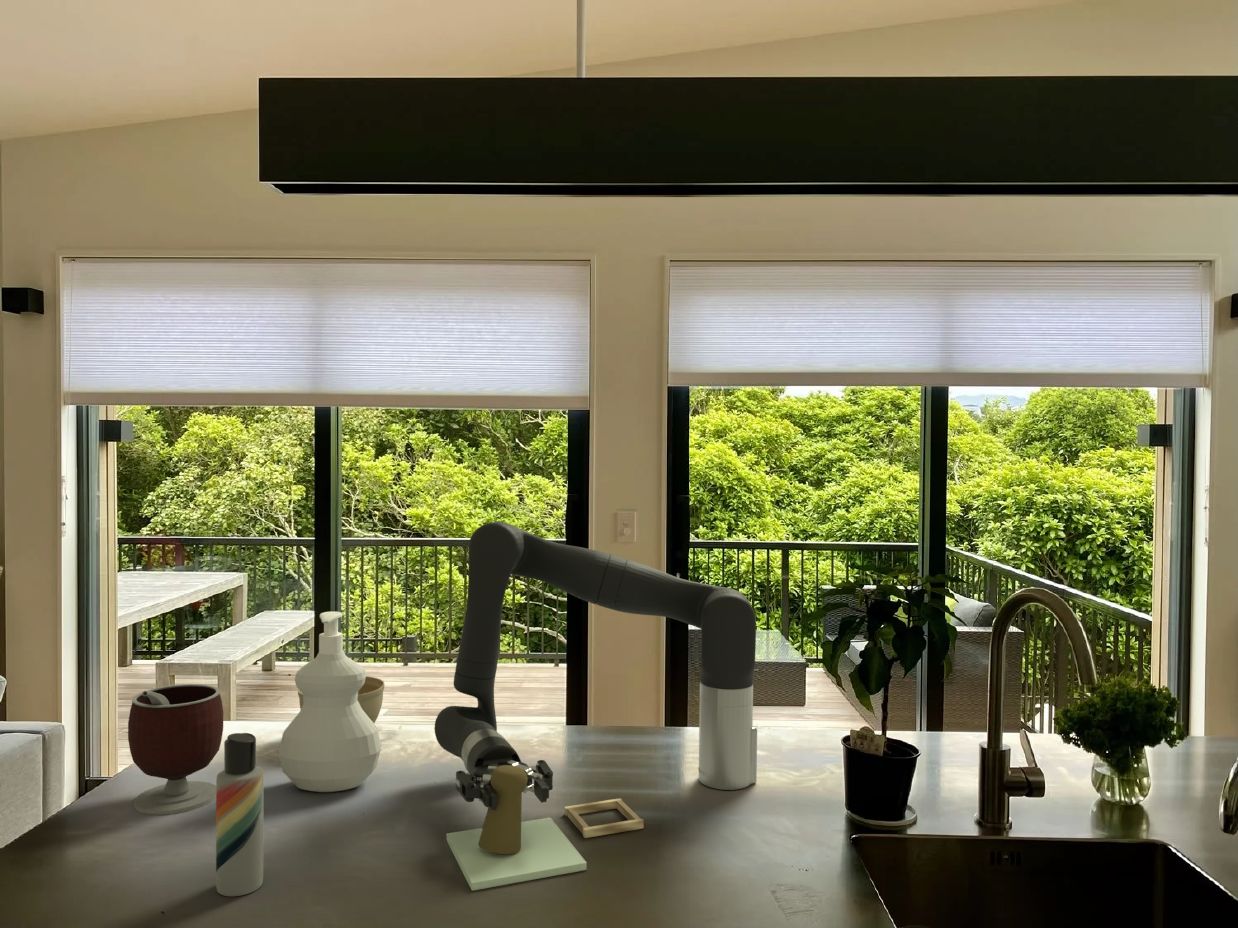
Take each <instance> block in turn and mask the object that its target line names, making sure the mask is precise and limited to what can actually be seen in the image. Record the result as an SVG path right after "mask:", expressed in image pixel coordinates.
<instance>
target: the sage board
mask: <svg viewBox="0 0 1238 928" xmlns="http://www.w3.org/2000/svg"><path fill="white" fill-rule="evenodd" d="M482 829H483V827H480V828H473V829H467V830H462V831H454V832H449V833H448V832H447V833H446V842H447V844H448V847H449V848H450V850H451V853H452V854H453V856H454V858H455V860H456V862H457V864H458V866H459V869H460V870H461V872H462V874H463V875H464V878H465V880H466V882H467V884H468V886H469V888H470V890H471V891H477V890H482V889H484V890H485V889H489V888H490V889H491V888H493V887H494V888H495V887H500V886H506V885H510V884H516V883H522V882H528V881H532V880H537V879H539V880H540V879H543V878H548V877H554V876H561V875H565V874H571V873H577V872H583V871H587V870H588V869H587V868H588V867H587V864H588V862H587V861H586V860H585V858H584V857H583V856H582V855H581V853H579V851H578V849H576V847H574V845H573V844H572V842H570V840H569V838H568V837H567V836H566V835H565V834H564V833H563V831H562V830H561V829H560V828H559V826H558V825H557V824H556V822H555V821H554V820H553V819H552V818H551V817H544V818H537V819H532V820H524V821H521V849H520V851H518V852H516V853H512V854H497V853H492V852H488V851H485V850H483V849H482V848H480V847H479V845H478V843H479V839H480V836H481V832H482Z"/></svg>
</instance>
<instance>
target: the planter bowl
mask: <svg viewBox="0 0 1238 928" xmlns="http://www.w3.org/2000/svg"><path fill="white" fill-rule="evenodd" d="M384 690H385V682H384V680H383V679H381V678H378V677H375V676H369V675H366V679H365V683H364V685H363V686H362V687H361V689H360V690H359V691H358V698H357V700H358V702H359V704H360V706H361V708H362V710H363V711H364V712H365V713H366V714H367V716H368V717H369V718H370V719H371V721H372V722H373V723H374V724H375V723H376V721H377V719H378V717H379V715H380V712H381V709H382V706H383V700H384ZM297 695H298V699H299V709H300V710H301V708H302V706H303V704H304V702H303V694H302V693H301V691H300V690H299V689H298V688H297Z"/></svg>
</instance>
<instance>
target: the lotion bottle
mask: <svg viewBox="0 0 1238 928" xmlns="http://www.w3.org/2000/svg"><path fill="white" fill-rule="evenodd" d="M256 737H257V736H255V735H254V734H252V733H248V732H238V733H236V732H235V733H231V734H228V736H227V738H226V739H225V740H224V742H223V743H224V745H223V746H224V747H223V748H224V751H223V753H224V754H223V755H224V756H223V757H224V762H223V763H224V765H223V766H224V769H223V770H221V771H219V772H218V773H217V775H216V782H215V783H216V784H215V786H216V798H215V799H216V800H215V801H216V802H215V805H216V806H215V808H216V809H215V812H216V814H215V819H216V820H215V823H216V824H215V829H216V830H215V840H216V841H215V842H216V843H215V847H216V849H215V886H216V891H217V892H218V894H220V895H221V896H224V897H241V896H245V895H247V894H251V893H253V892H255V891H257V890H258V889H259V888H260V887H261V886H262V884H263V880H264V770H263V768H262V767H261V766H258V765H257V763H256V762H257V759H256V758H257V748H256V747H257V738H256Z"/></svg>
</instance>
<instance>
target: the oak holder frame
mask: <svg viewBox="0 0 1238 928" xmlns="http://www.w3.org/2000/svg"><path fill="white" fill-rule="evenodd" d="M563 809H564V810H563V812H564V814H563V815H564V816H565V817H567V818H568V819H569V820H570V821H571V822H572V823H573V825H574V826H575V827H576V828H577V830H579V832H580V833H581V834H582V837H583V838H584V839H588V838H589V839H590V838H593V837H598V836H605V835H611V834H612V835H613V834H617V833H622V832H623V833H624V832H629V831H636V830H642V829H644V825H645V822H644V819H643V818H640V817H639V816H638V815H637V814H636V813H635V812H634V811H633V810H632V809H631V808H630V807H629V806H628V805H627V804H626V803H625V802H624V801H623V799H622V798H614V799H607V800H606V799H605V800H600V801H599V800H598V801H593V802H587V803H580V804H574V805H567V806H564V807H563ZM615 809H616V810H618V811H619V813H621V814H622V816H624V817H625V818H626V819H627V820H624V821H618V822H611V823H605V824H599V825H593V826H589V825H588V823H586V822H585V821H584V819H583V818H582V817H581V816H580V815H582V814H589V813H594V812H601V811H609V810H615Z"/></svg>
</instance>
